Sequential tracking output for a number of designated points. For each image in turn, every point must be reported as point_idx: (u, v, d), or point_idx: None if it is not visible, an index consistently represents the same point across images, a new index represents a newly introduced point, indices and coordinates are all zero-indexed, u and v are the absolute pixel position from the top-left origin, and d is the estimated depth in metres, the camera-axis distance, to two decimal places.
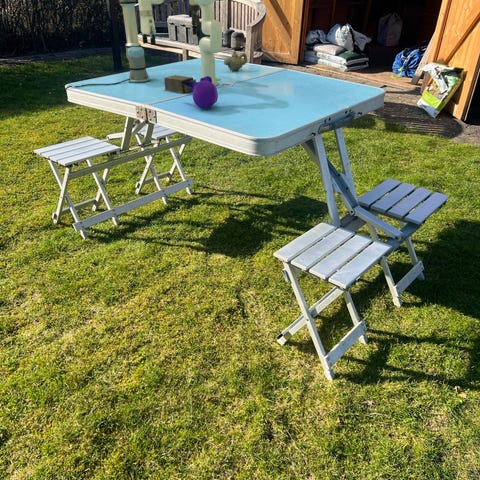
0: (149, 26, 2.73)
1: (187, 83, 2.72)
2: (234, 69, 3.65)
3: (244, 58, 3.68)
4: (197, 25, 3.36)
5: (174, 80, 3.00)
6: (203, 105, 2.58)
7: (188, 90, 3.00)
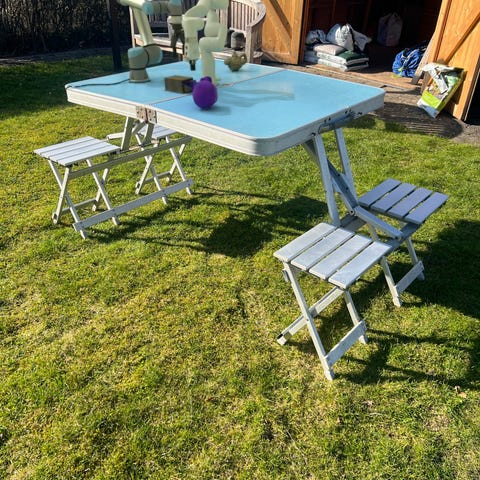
0: (185, 52, 2.86)
1: (187, 83, 2.72)
2: (234, 69, 3.65)
3: (244, 58, 3.68)
4: (170, 46, 3.05)
5: (174, 80, 3.00)
6: (203, 105, 2.58)
7: (188, 90, 3.00)
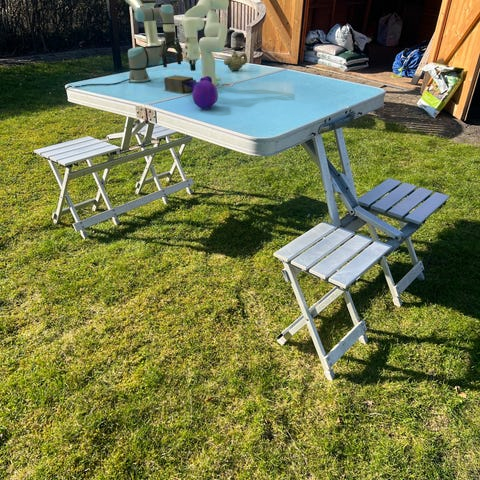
0: (185, 52, 2.86)
1: (187, 83, 2.72)
2: (234, 69, 3.65)
3: (244, 58, 3.68)
4: (159, 55, 2.93)
5: (174, 80, 3.00)
6: (203, 105, 2.58)
7: (188, 90, 3.00)
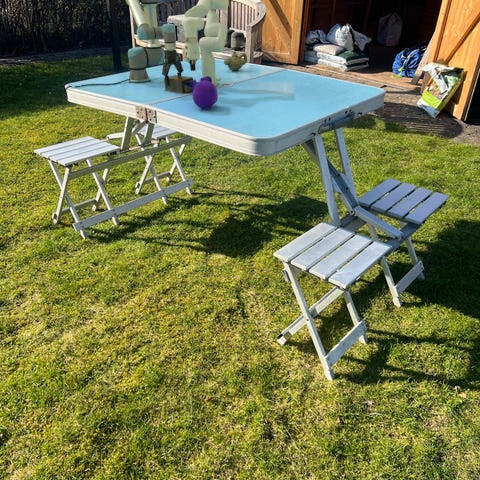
0: (185, 52, 2.86)
1: (187, 83, 2.72)
2: (234, 69, 3.65)
3: (244, 58, 3.68)
4: (162, 74, 3.00)
5: (174, 80, 3.00)
6: (203, 105, 2.58)
7: (188, 90, 3.00)
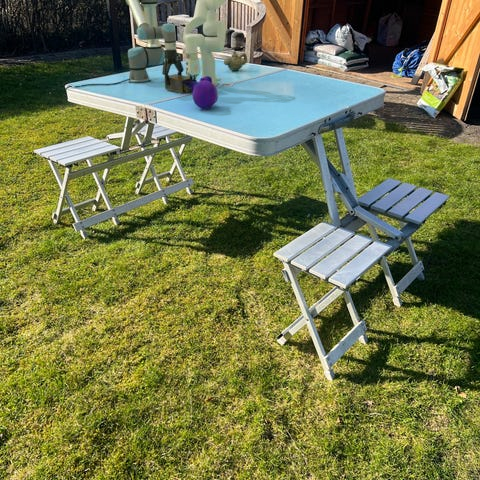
0: (185, 67, 2.90)
1: (187, 83, 2.72)
2: (234, 69, 3.65)
3: (244, 58, 3.68)
4: (162, 73, 3.00)
5: (174, 80, 3.00)
6: (203, 105, 2.58)
7: (188, 90, 3.00)
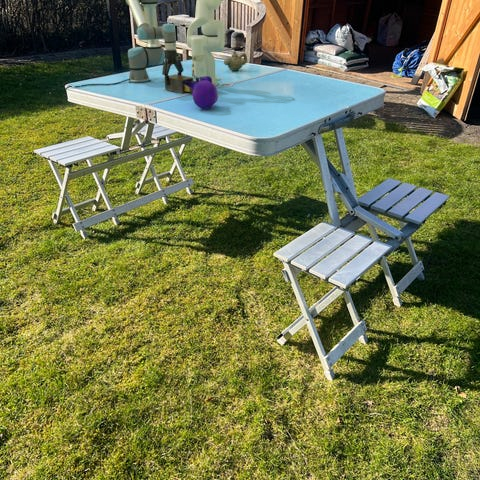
0: (191, 69, 2.88)
1: (187, 83, 2.72)
2: (234, 69, 3.65)
3: (244, 58, 3.68)
4: (162, 73, 3.00)
5: (174, 80, 3.00)
6: (203, 105, 2.58)
7: None
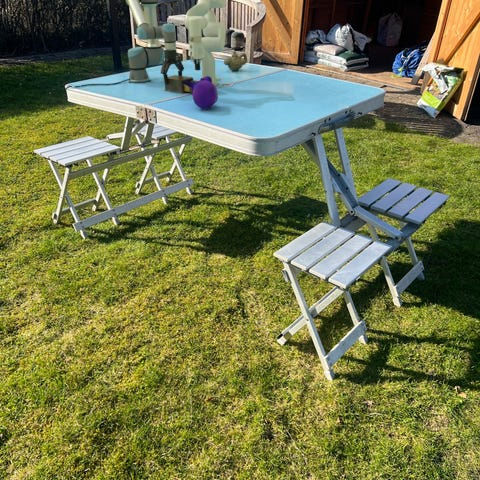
0: (189, 51, 2.83)
1: (187, 83, 2.72)
2: (234, 69, 3.65)
3: (244, 58, 3.68)
4: None
5: (174, 80, 3.01)
6: (203, 105, 2.58)
7: None
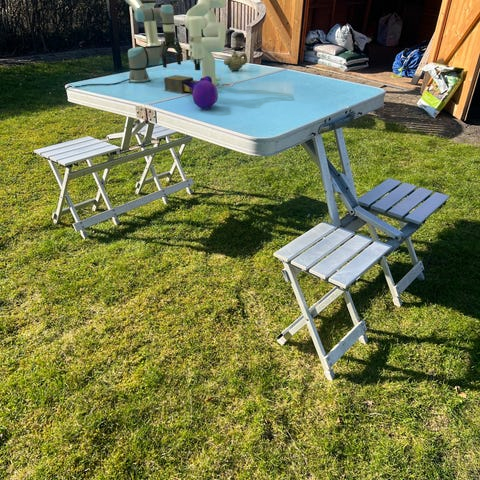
0: (189, 51, 2.83)
1: (187, 83, 2.72)
2: (234, 69, 3.65)
3: (244, 58, 3.68)
4: (159, 55, 2.93)
5: (174, 80, 3.01)
6: (203, 105, 2.58)
7: None
